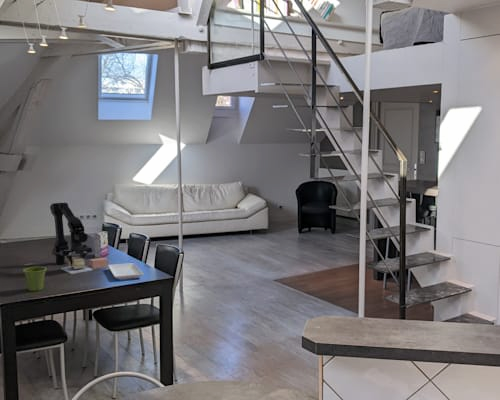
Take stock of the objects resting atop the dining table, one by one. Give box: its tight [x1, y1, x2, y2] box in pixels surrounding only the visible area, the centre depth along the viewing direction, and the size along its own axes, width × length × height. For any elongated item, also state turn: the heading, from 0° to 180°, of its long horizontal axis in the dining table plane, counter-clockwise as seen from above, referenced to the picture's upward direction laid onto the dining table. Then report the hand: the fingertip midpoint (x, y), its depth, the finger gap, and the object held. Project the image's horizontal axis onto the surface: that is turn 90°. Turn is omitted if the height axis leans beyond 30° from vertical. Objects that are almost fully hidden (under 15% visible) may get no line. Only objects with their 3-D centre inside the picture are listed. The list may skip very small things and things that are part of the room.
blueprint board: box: [60, 265, 94, 275], centre depth 342 cm, size 16×14×1 cm
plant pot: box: [22, 266, 48, 292], centre depth 298 cm, size 12×12×11 cm
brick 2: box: [88, 256, 109, 270], centre depth 349 cm, size 10×6×5 cm, turn 127°
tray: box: [108, 262, 144, 281], centre depth 331 cm, size 17×32×4 cm, turn 21°
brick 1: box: [68, 256, 86, 269], centre depth 341 cm, size 10×6×5 cm, turn 39°
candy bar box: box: [93, 231, 109, 259], centre depth 379 cm, size 11×5×16 cm, turn 168°
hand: (76, 264), depth 341 cm, fingers closed on brick 1, 6 cm apart
